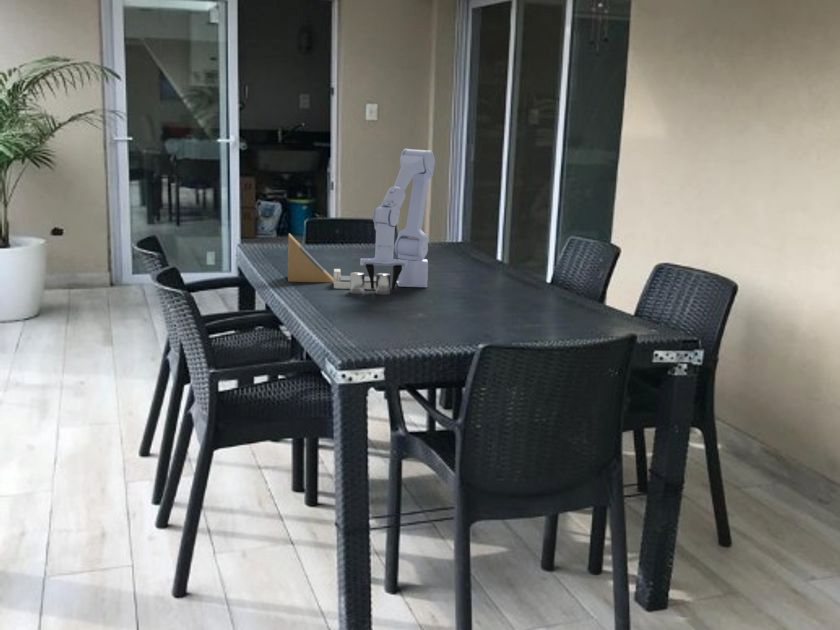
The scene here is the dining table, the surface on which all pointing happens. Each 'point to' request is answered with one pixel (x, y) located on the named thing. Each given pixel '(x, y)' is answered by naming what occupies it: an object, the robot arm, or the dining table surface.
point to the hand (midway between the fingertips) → (382, 288)
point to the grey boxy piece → (345, 281)
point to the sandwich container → (304, 265)
